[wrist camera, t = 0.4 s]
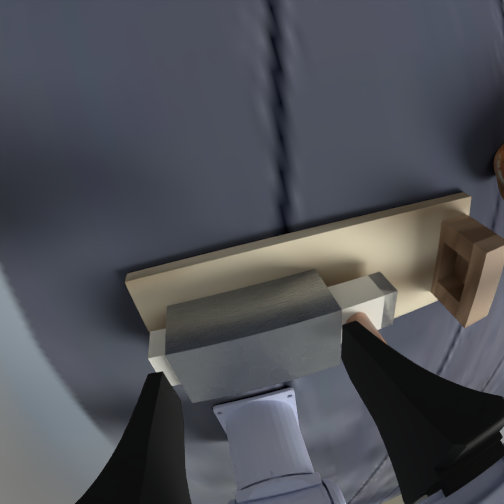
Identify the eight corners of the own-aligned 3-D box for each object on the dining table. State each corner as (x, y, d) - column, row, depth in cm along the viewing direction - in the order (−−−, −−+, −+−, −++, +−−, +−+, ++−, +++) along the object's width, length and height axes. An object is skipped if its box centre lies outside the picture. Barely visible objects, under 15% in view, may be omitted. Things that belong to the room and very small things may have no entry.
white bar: (377, 303, 22) (435, 383, 15) (165, 361, 21) (168, 464, 14) (379, 271, 20) (449, 351, 13) (150, 331, 19) (144, 442, 12)
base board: (447, 287, 26) (453, 293, 25) (175, 370, 24) (175, 379, 23) (463, 192, 21) (471, 196, 20) (127, 273, 19) (124, 282, 18)
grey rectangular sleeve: (318, 322, 23) (340, 364, 19) (189, 355, 22) (192, 403, 18) (314, 268, 20) (341, 309, 17) (166, 306, 20) (165, 355, 16)
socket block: (453, 282, 24) (487, 315, 20) (430, 291, 24) (464, 328, 20) (465, 213, 21) (509, 242, 16) (441, 220, 21) (486, 253, 16)
